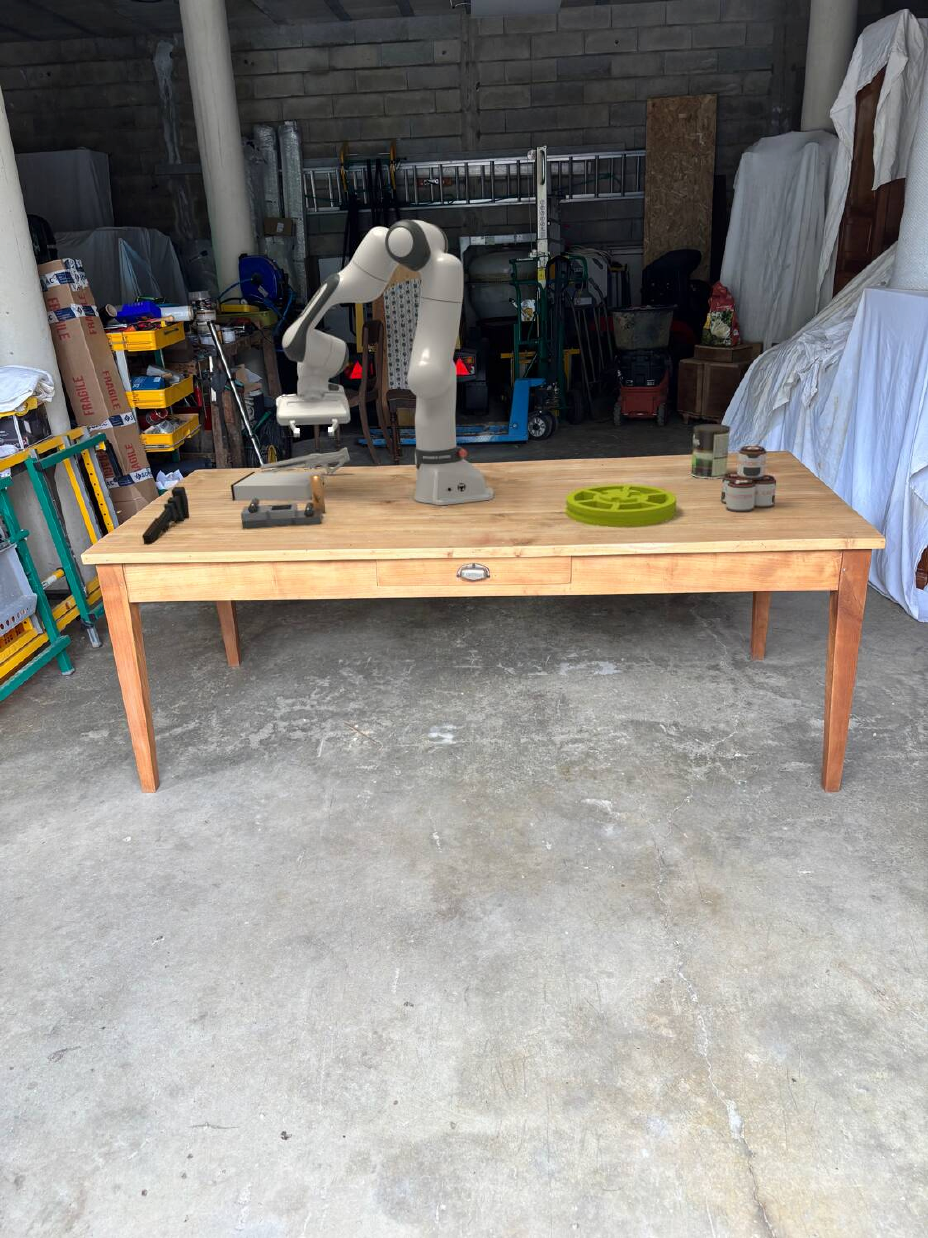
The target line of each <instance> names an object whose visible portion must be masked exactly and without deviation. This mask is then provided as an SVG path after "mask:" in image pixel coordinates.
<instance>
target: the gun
mask: <svg viewBox="0 0 928 1238" xmlns="http://www.w3.org/2000/svg"><path fill="white" fill-rule="evenodd" d="M349 461H350V455H349V452H348V447H344V448H343V447H342V448H341V449H340V450H339V451H335V452H334V451H333V452H326V453H318V452H317V453H310V454H308V455H303V456H297V457H294V458H290V459H285V460H279V461H274V462H269V463H265V464H264V463H263V464H260V466H259V470H260V469H261V471H260V473H278V472H281V471H286V472H287V471H288V472H289V471H295V470H297V471H298V470H299V469H293V468H303V470H305V471H306V470H307V471H308V470H309V469H304V468H311V469H310V470H313V469H314V470H321V469H325V470H326V473H327V474H328V473H332V474H333V473H335V472H336V471H338V470H339V469H341V467H343V465H344V464H345V463H346V462H349ZM337 462H338V464H337V465H335V466H334V467H332V468H331V467H330V466H329V464H332V463H337ZM317 466H320V467H317ZM312 468H313V469H312ZM271 469H272V470H271Z"/></svg>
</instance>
